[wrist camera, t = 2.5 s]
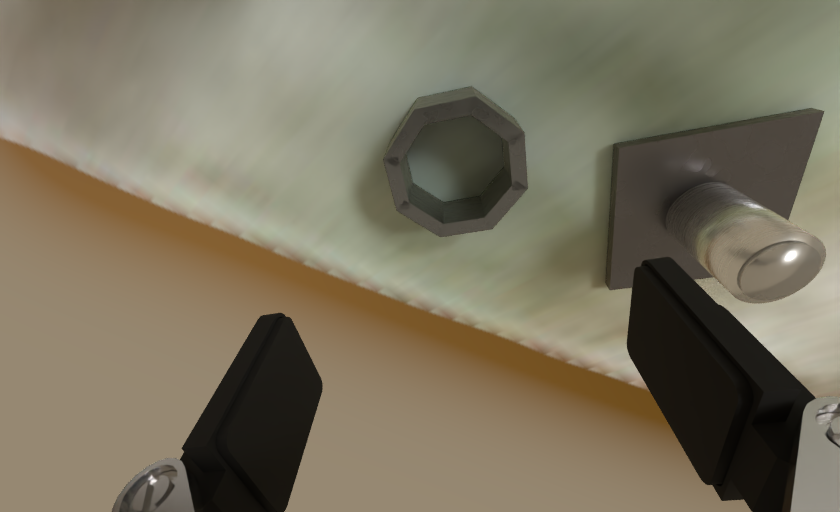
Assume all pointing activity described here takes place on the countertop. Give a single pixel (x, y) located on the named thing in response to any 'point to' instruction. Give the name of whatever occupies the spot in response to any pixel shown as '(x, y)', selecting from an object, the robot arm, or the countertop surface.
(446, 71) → the countertop surface
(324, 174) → the countertop surface
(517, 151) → the ring
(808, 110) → the grey peg base
